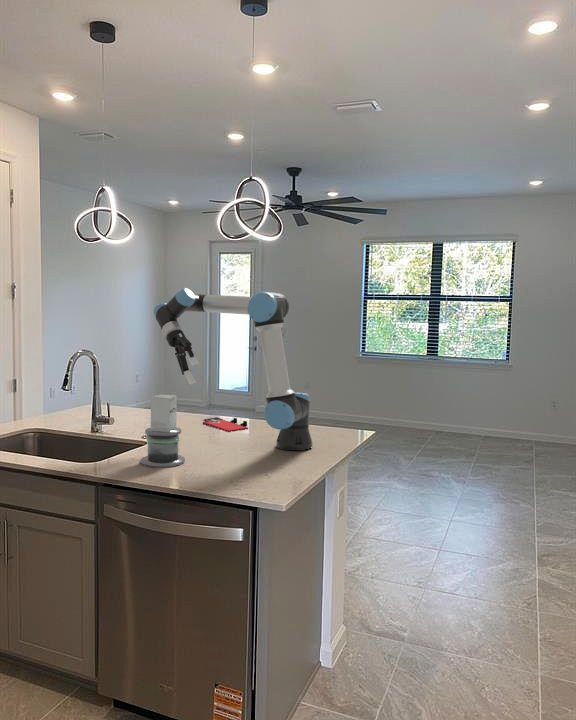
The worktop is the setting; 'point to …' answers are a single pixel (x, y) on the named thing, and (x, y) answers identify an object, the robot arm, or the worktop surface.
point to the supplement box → (163, 412)
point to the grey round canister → (162, 449)
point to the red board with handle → (226, 424)
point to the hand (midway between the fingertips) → (194, 374)
